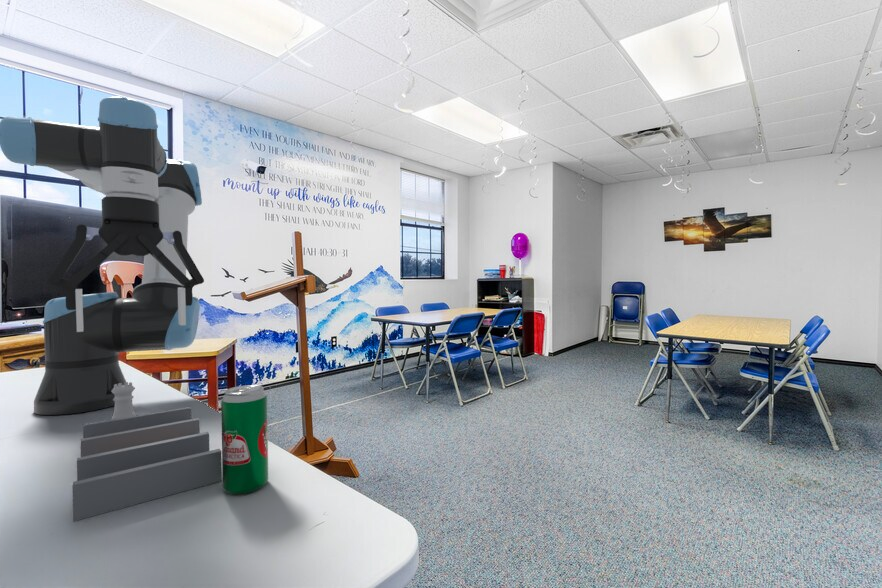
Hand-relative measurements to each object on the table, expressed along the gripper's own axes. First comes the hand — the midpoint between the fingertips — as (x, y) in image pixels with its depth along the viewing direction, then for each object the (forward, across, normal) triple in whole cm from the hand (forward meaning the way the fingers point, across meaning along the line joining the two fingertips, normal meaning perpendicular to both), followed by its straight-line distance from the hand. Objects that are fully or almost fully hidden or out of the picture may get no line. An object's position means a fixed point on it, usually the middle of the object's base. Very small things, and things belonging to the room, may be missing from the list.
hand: (134, 327), depth 69 cm
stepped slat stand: (+17, 0, -16) cm, 23 cm away
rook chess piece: (+18, -2, +3) cm, 18 cm away
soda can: (+17, +8, -32) cm, 37 cm away
